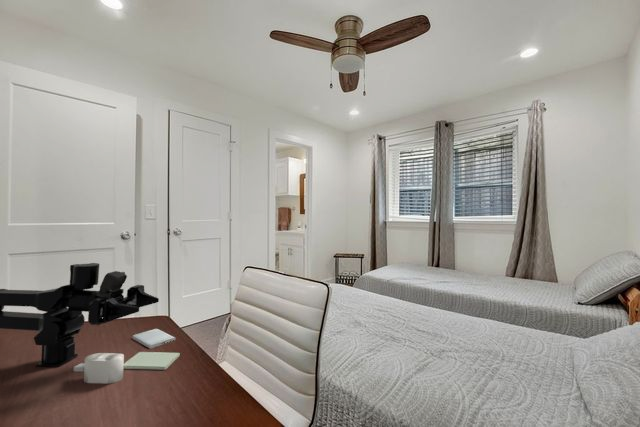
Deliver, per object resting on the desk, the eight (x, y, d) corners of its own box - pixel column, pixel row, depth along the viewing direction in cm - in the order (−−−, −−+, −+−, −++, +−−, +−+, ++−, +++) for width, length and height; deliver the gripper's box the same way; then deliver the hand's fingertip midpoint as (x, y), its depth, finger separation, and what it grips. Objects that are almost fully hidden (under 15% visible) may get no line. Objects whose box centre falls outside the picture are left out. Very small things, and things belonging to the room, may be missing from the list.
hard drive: (132, 335, 98) (150, 345, 91) (157, 328, 104) (175, 336, 97) (132, 340, 98) (149, 350, 91) (157, 332, 104) (175, 341, 97)
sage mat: (121, 368, 79) (121, 365, 79) (139, 354, 87) (139, 351, 87) (165, 369, 79) (165, 366, 79) (179, 355, 87) (179, 352, 87)
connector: (69, 382, 72) (70, 360, 72) (83, 373, 75) (83, 352, 76) (116, 383, 72) (116, 361, 72) (126, 374, 76) (127, 353, 76)
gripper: (67, 279, 73) (129, 283, 72) (119, 267, 91) (168, 270, 91) (63, 323, 72) (125, 327, 72) (116, 302, 91) (166, 306, 91)
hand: (149, 304), depth 82 cm, fingers open, 9 cm apart
